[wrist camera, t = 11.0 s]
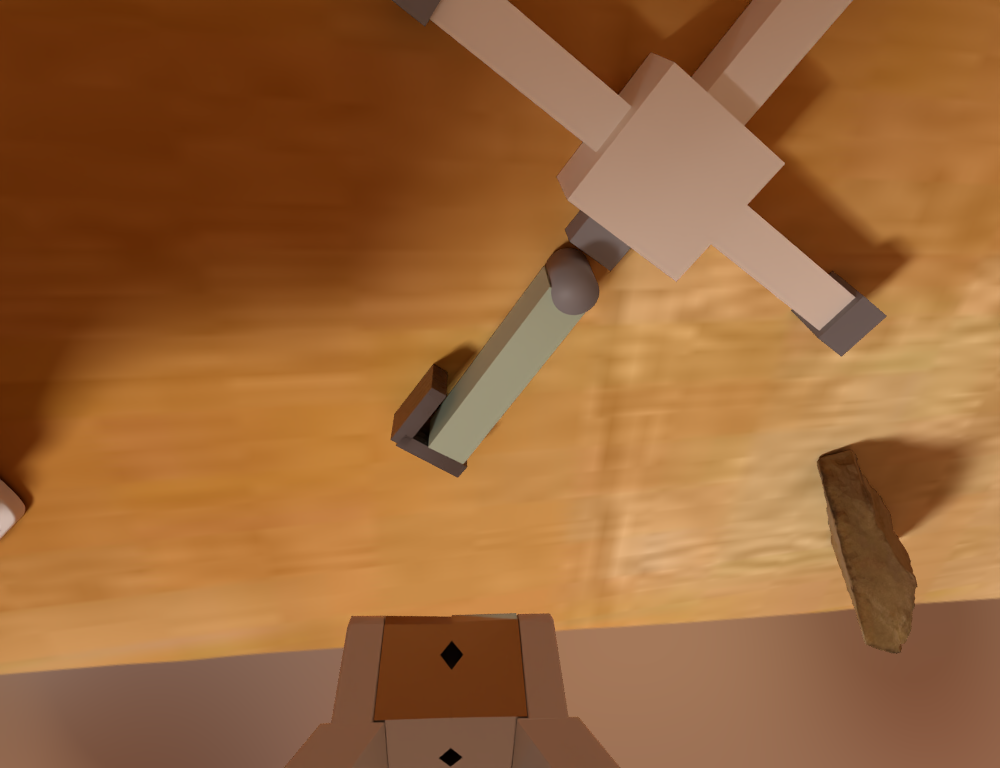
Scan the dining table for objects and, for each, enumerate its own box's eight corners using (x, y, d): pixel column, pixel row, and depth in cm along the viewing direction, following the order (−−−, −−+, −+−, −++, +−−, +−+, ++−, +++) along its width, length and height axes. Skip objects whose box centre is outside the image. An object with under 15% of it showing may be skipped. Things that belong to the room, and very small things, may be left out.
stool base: (763, 374, 40) (791, 411, 37) (346, 70, 30) (331, 82, 27) (1068, 90, 32) (1140, 103, 29) (638, -458, 22) (669, -537, 19)
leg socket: (458, 451, 42) (457, 477, 40) (392, 416, 40) (388, 441, 38) (500, 402, 40) (502, 427, 38) (433, 363, 39) (431, 387, 36)
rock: (793, 466, 41) (763, 588, 45) (943, 531, 35) (894, 665, 39) (866, 417, 48) (835, 529, 52) (1004, 466, 42) (956, 587, 46)
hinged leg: (562, 239, 35) (571, 262, 32) (597, 262, 35) (608, 287, 33) (430, 418, 40) (428, 450, 38) (463, 434, 41) (463, 467, 38)
